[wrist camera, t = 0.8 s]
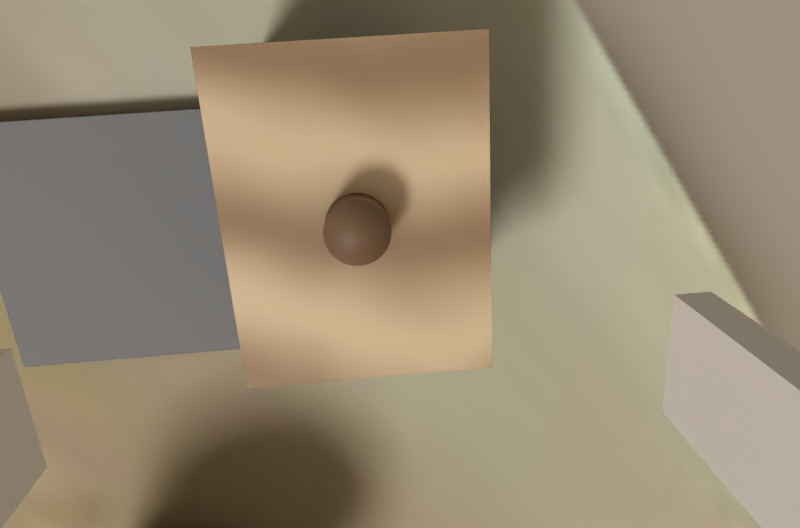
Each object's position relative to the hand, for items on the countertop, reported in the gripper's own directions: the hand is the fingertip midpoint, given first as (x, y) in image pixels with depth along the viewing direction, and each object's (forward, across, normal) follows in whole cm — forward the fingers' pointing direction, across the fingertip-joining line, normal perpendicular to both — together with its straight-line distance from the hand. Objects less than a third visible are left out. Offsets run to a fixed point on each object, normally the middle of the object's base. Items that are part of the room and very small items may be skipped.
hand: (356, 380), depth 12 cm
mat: (+18, -11, -2) cm, 21 cm away
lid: (+12, 0, 0) cm, 12 cm away
